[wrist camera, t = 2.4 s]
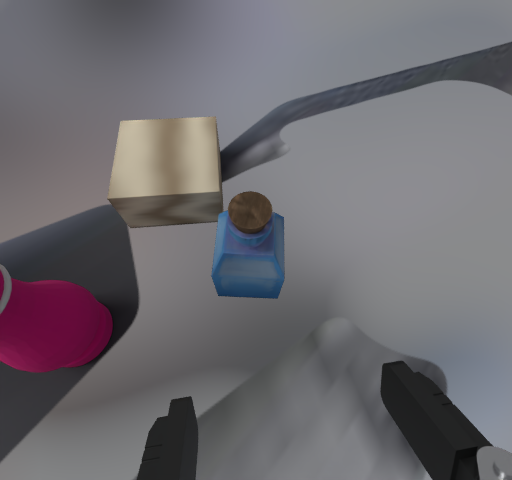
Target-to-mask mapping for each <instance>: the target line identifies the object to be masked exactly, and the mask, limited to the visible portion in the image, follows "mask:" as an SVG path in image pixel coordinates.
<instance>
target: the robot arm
mask: <svg viewBox="0 0 512 480" xmlns="http://www.w3.org/2000/svg"><path fill="white" fill-rule="evenodd" d="M381 397H382V400H383V403H384V405H385V407H386V409H387V410H388V412H389V413H390V415H391V416H392V418H393V420H394V421H395V423H396V424H397V426H398V427H399V429H400V430H401V432H402V433H403V435H404V437H405V438H406V440H407V441H408V443H409V444H410V446H411V447H412V449H413V450H414V452H415V454H416V455H417V457H418V458H419V460H420V461H421V463H422V464H423V466H424V467H425V469H426V471H427V472H428V474H429V475H430V477H431V478H432V479H433V480H512V454H511V453H510V452H508V451H506V450H503V449H500V448H497V447H494V446H493V445H492V444H490V442H489V441H487V439H486V438H485V437H484V436H483V435H482V434H481V433H480V432H479V431H478V430H477V428H476V427H475V426H474V425H473V424H472V423H471V422H470V421H469V420H468V419H467V418H466V417H465V416H464V414H463V413H462V412H461V411H460V410H459V409H458V408H457V407H456V406H455V405H453V404H452V402H451V400H450V399H449V398H448V397H447V396H446V395H444V394H443V392H442V391H441V390H440V388H439V387H438V386H437V385H436V384H435V383H434V382H433V381H432V380H430V379H429V378H427V377H426V376H424V375H423V374H421V373H420V372H416V373H414V372H413V371H412V370H411V369H410V368H409V367H408V366H407V364H406V363H405V362H403V361H396V362H390V363H384V364H383V366H382V378H381ZM197 452H198V425H197V420H196V415H195V410H194V406H193V401H192V397H191V396H190V397H184V398H179V399H173V400H171V403H170V408H169V413H168V416H165V417H160V418H157V420H156V421H155V423H154V425H153V426H152V428H151V429H150V431H149V433H148V438H147V442H146V445H145V451H144V454H143V457H142V464H141V465H140V469H139V473H138V477H137V480H195V479H196V465H197Z"/></svg>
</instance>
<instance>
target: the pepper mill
mask: <svg viewBox="0 0 512 480" xmlns="http://www.w3.org/2000/svg"><path fill="white" fill-rule="evenodd" d="M112 329H113V321H112V317H111V314H110V312H109V310H108V309H107V308H106V306H104V305H103V304H101V303H100V302H98V301H96V299H95V298H94V296H93V295H92V294H91V293H90V292H89V291H88V290H87V289H85V288H84V287H82V286H79V285H77V284H74V283H71V282H68V281H61V280H44V281H37V282H30V283H29V282H22V281H19V280H16V279H13V278H11V277H10V275H9V273H8V271H7V270H6V268H5V267H4V266H3V265H1V264H0V361H2V362H3V363H5V364H7V365H9V366H11V367H13V368H15V369H19V370H23V371H29V372H47V371H52V370H55V369H58V368H61V367H77V366H81V365H84V364H86V363H88V362H90V361H91V360H93V359H94V358H95V357H97V356H98V355H99V354H100V353H101V352H102V351H103V349H104V348H105V346H106V345H107V343H108V341H109V339H110V337H111V334H112Z"/></svg>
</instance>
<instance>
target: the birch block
mask: <svg viewBox="0 0 512 480" xmlns="http://www.w3.org/2000/svg"><path fill="white" fill-rule="evenodd" d="M107 199H108V200H109V201H110V203H111V204H112V205H113V207H114V208H115V209H116V210H117V212H118V213H119V214H120V215H121V217H122V218H123V219H124V221H125V222H126V223H127V224H128V226H129V227H130V228H143V227H156V226H169V225H184V224H197V223H211V222H218V216H219V214H220V213H223V196H222V178H221V160H220V147H219V139H218V131H217V123H216V117H198V118H175V119H154V120H134V121H133V120H132V121H121V123H120V129H119V134H118V140H117V146H116V152H115V157H114V164H113V169H112V176H111V181H110V187H109V193H108V198H107Z"/></svg>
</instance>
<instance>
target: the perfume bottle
mask: <svg viewBox="0 0 512 480" xmlns="http://www.w3.org/2000/svg"><path fill="white" fill-rule="evenodd" d="M212 279H213V282H214V285H215V288H216V290H217V293H218V296H230V297H231V296H232V297H253V298H278V296H279V293H280V290H281V287H282V285H283V282H284V217H282V216H280V215H278V214H277V213H275V212H272V205H271V204H270V201H269V200H268V199H267V198H266V197H265V196H263V195H262V194H260V193H257V192H251V191H250V192H243V193H240V194H238V195H237V196H235V197H234V198H233V199H232V200H231V202H230V203H229V207H228V210H227V211H225V212H223V213H220V214H219V216H218V225H217V233H216V242H215V250H214V259H213V268H212Z"/></svg>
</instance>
